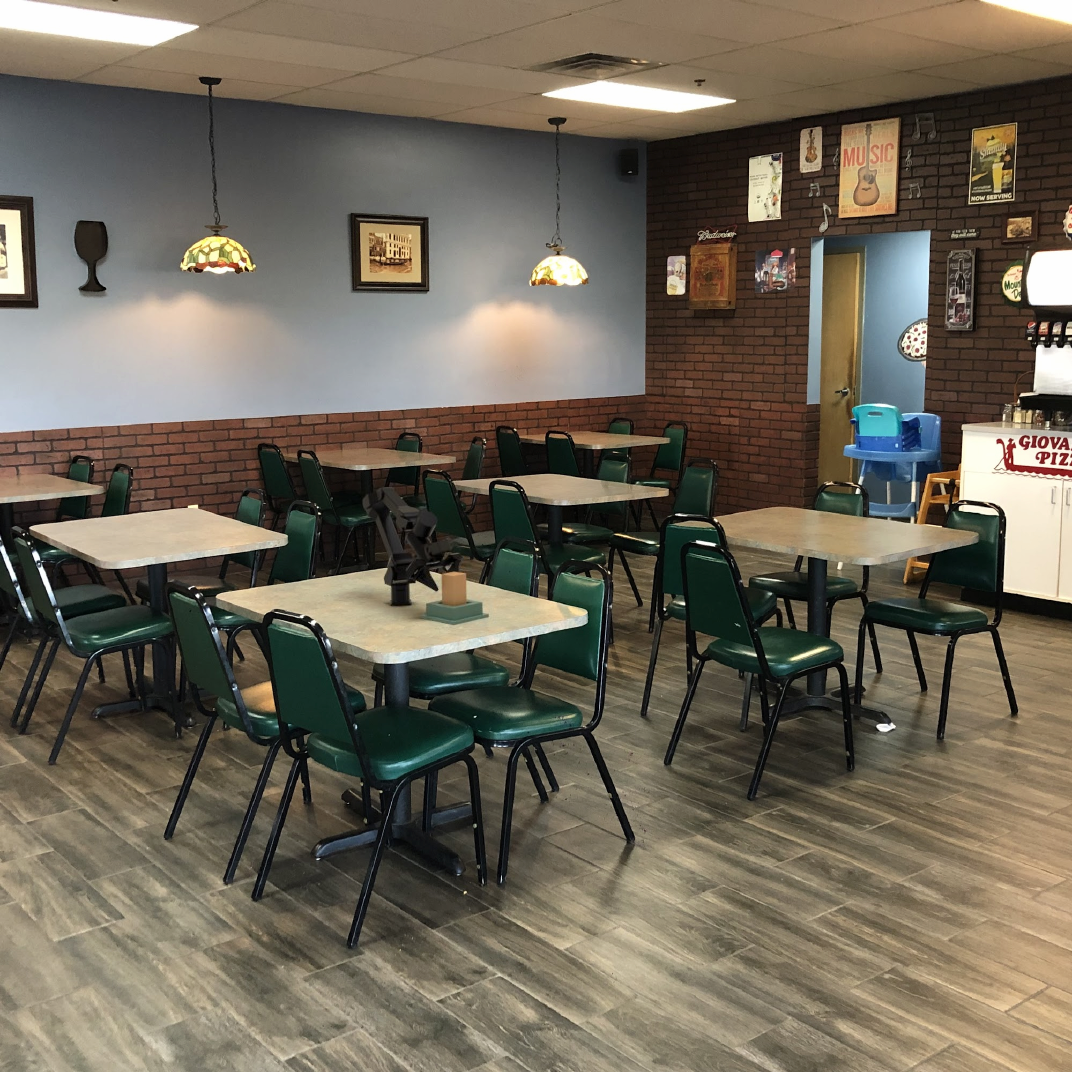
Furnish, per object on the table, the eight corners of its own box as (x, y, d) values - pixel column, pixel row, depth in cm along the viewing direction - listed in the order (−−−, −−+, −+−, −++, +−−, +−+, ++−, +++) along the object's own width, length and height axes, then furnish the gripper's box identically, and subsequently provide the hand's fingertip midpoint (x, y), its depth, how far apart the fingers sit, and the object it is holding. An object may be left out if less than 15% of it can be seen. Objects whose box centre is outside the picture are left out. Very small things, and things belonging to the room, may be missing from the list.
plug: (442, 614, 350) (441, 574, 349) (454, 612, 354) (454, 571, 352) (454, 617, 347) (453, 576, 345) (466, 614, 351) (466, 573, 349)
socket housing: (420, 618, 350) (419, 603, 350) (455, 610, 360) (455, 596, 360) (453, 624, 341) (453, 609, 340) (488, 616, 351) (488, 602, 350)
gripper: (411, 533, 345) (438, 575, 339) (458, 525, 359) (485, 566, 353) (393, 557, 351) (420, 599, 346) (440, 549, 365) (466, 589, 359)
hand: (449, 588), depth 351 cm, fingers open, 9 cm apart
